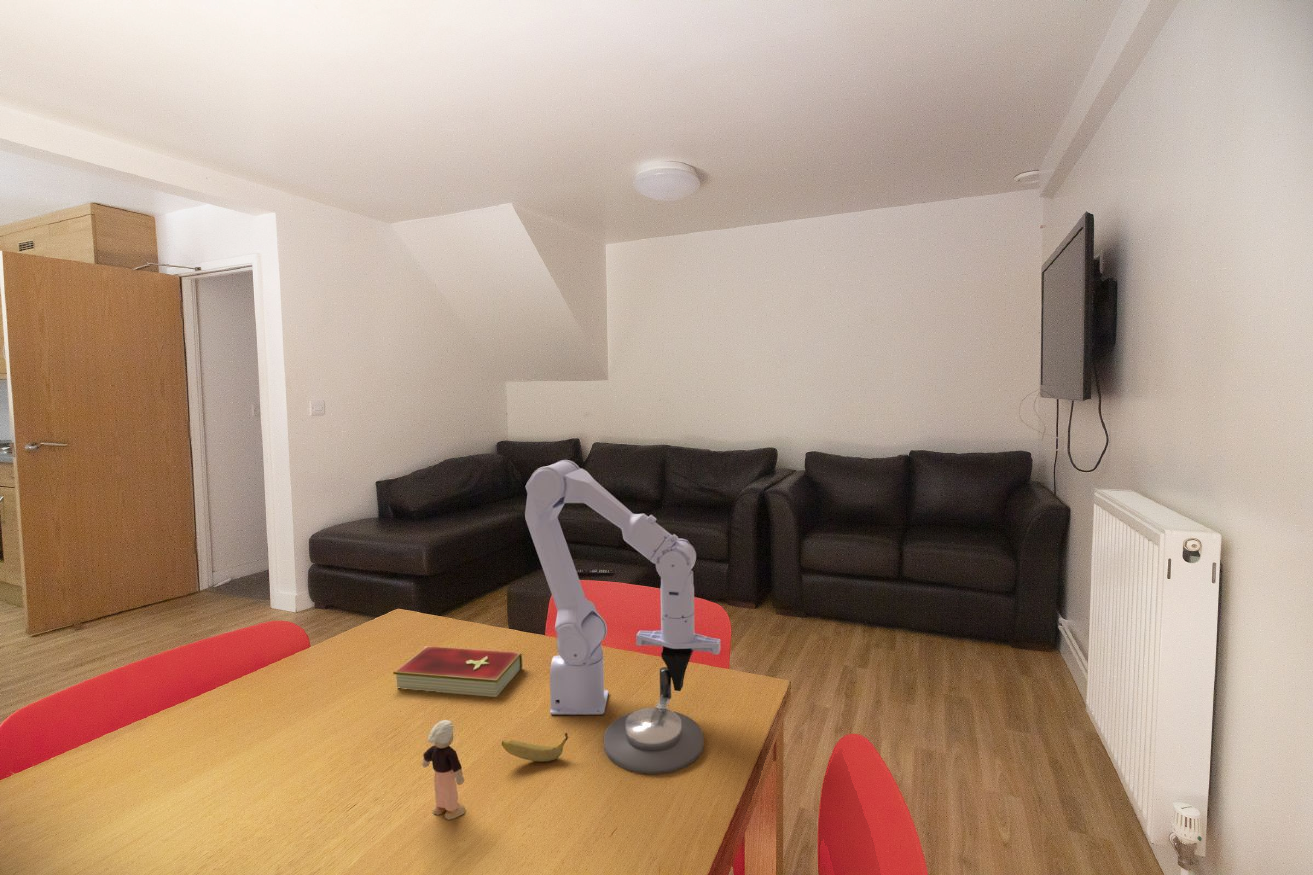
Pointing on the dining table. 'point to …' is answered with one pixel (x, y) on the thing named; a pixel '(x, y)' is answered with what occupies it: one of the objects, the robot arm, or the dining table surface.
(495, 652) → the hardcover book
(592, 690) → the robot arm
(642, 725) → the dial
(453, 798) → the grandmother figurine
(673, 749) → the dial base
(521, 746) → the banana
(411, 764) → the dining table surface
